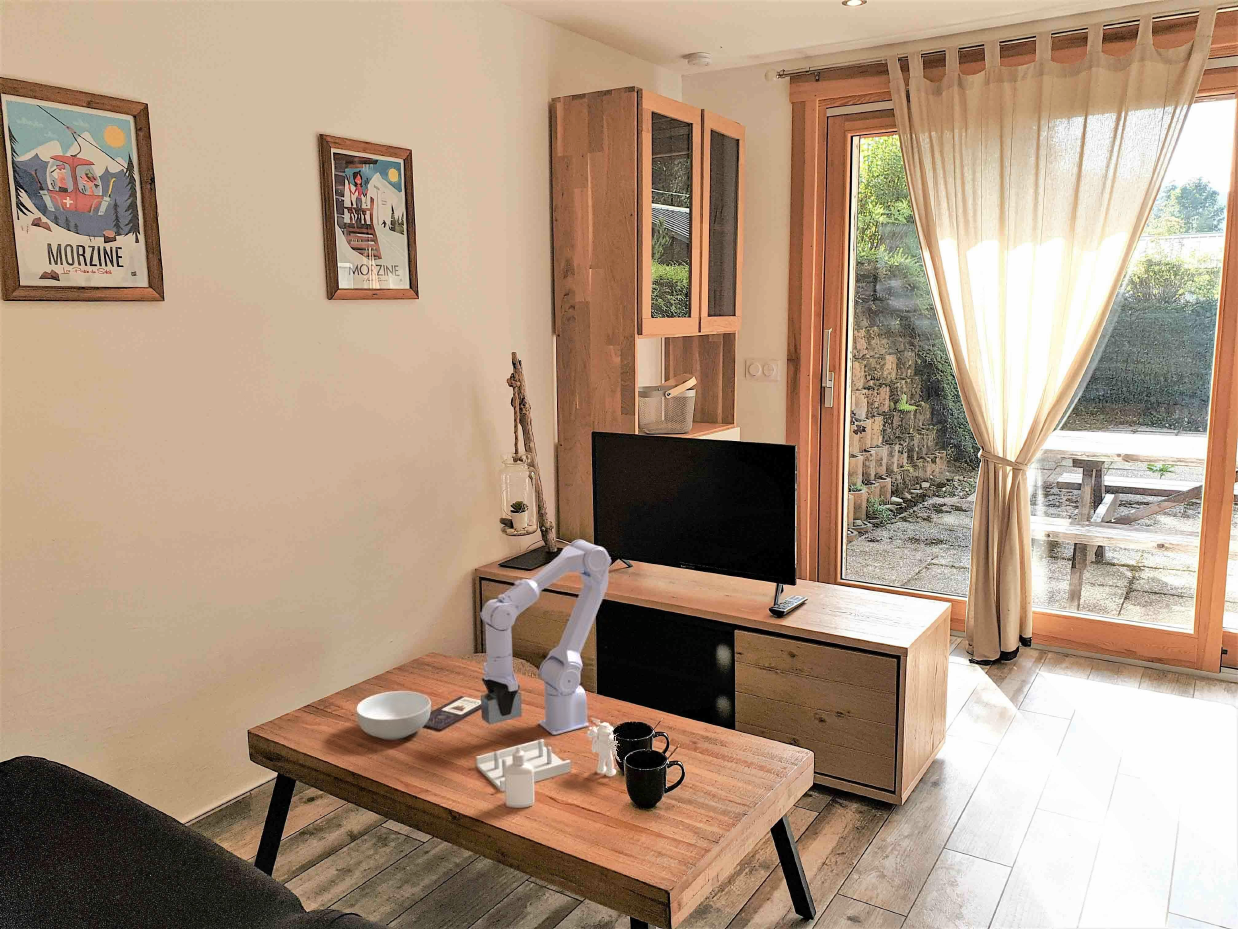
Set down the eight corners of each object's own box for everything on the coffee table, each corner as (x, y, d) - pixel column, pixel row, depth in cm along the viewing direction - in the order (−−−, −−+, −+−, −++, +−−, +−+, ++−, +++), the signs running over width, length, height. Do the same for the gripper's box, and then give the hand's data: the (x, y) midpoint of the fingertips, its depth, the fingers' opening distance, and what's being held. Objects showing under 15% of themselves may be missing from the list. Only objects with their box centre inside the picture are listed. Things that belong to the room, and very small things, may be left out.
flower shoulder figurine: (583, 770, 202) (582, 716, 200) (595, 763, 205) (594, 710, 203) (617, 782, 197) (616, 727, 195) (629, 775, 200) (628, 720, 198)
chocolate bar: (411, 721, 227) (460, 696, 242) (412, 725, 227) (461, 699, 242) (440, 729, 222) (489, 702, 238) (441, 733, 222) (489, 706, 238)
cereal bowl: (389, 755, 210) (388, 725, 209) (342, 736, 220) (340, 707, 219) (447, 729, 224) (445, 700, 223) (400, 712, 234) (398, 684, 233)
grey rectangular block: (513, 710, 220) (513, 687, 219) (521, 716, 216) (521, 692, 215) (481, 718, 215) (480, 694, 215) (489, 724, 212) (488, 700, 211)
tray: (543, 748, 212) (542, 730, 212) (571, 771, 202) (570, 752, 201) (476, 766, 204) (475, 748, 204) (501, 791, 193) (501, 771, 193)
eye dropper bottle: (525, 812, 185) (523, 754, 183) (501, 805, 188) (499, 748, 186) (538, 802, 189) (536, 745, 187) (514, 796, 192) (512, 739, 190)
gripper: (470, 647, 218) (472, 704, 220) (496, 666, 205) (498, 726, 207) (498, 641, 221) (500, 697, 223) (526, 660, 209) (528, 719, 211)
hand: (501, 711), depth 216 cm, fingers closed on grey rectangular block, 4 cm apart
